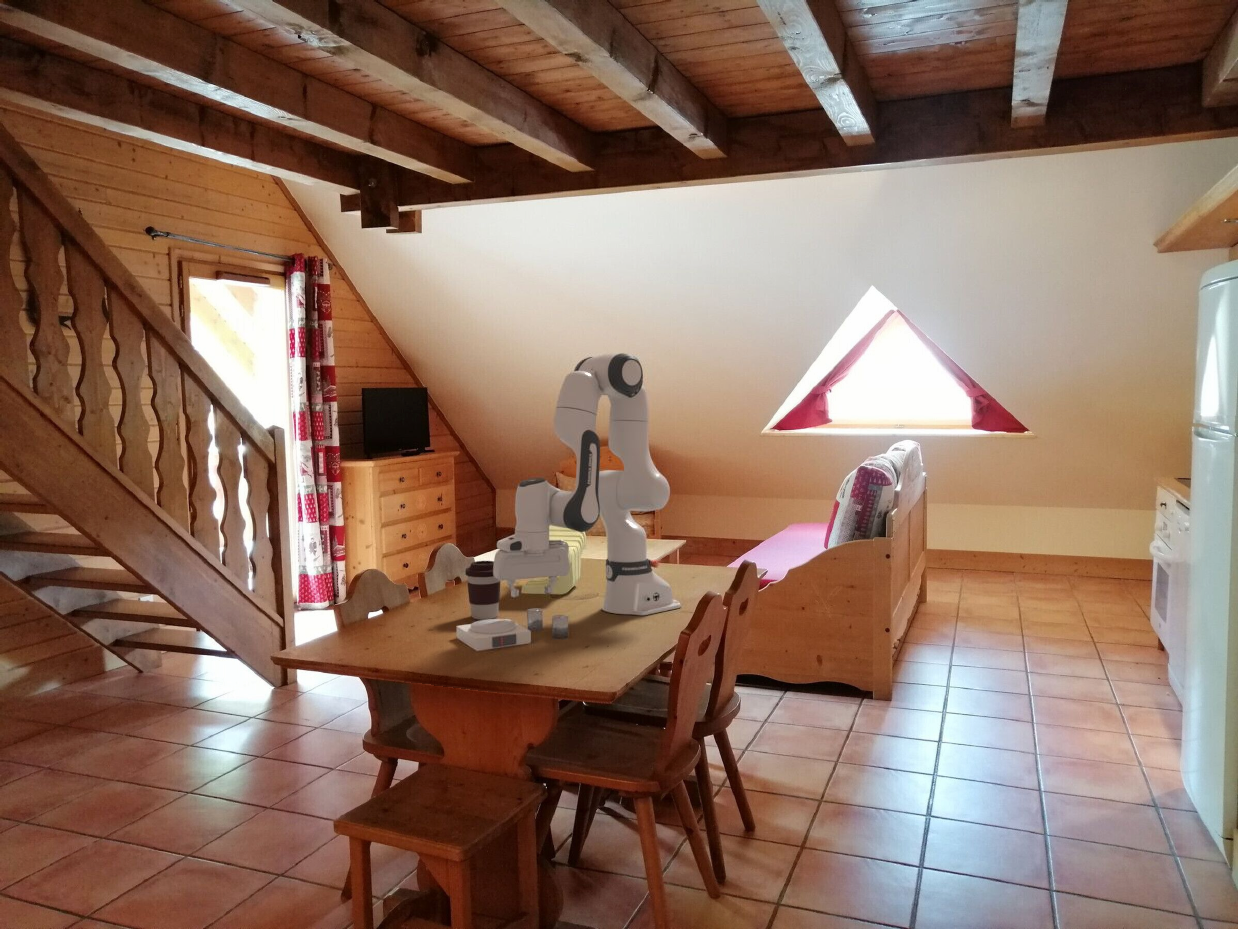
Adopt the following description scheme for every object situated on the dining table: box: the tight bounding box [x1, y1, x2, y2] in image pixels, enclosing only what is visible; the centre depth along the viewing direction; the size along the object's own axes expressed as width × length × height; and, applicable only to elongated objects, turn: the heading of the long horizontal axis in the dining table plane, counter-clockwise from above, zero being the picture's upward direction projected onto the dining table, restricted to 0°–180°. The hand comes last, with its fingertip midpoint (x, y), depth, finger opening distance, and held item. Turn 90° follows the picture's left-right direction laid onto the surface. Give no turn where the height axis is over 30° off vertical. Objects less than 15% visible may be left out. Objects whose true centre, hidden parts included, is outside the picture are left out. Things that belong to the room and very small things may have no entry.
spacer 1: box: [526, 607, 544, 632], centre depth 245 cm, size 4×4×5 cm
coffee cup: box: [465, 560, 501, 621], centre depth 258 cm, size 10×10×15 cm
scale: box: [456, 618, 532, 652], centre depth 234 cm, size 14×15×4 cm
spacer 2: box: [551, 614, 569, 640], centre depth 237 cm, size 4×4×5 cm
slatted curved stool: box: [521, 525, 587, 595], centre depth 293 cm, size 30×16×18 cm, turn 170°
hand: (531, 595), depth 244 cm, fingers open, 8 cm apart
